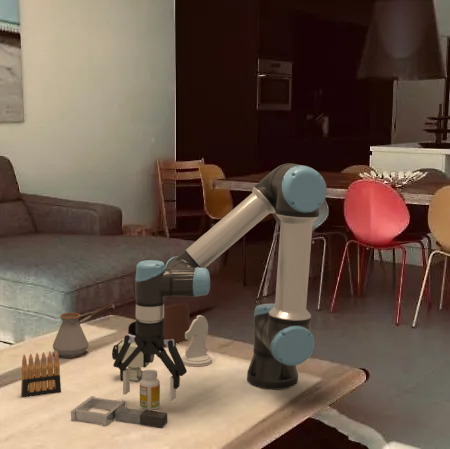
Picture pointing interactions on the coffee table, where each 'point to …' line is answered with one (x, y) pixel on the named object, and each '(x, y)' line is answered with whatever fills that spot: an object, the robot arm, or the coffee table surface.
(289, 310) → the robot arm
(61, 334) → the coffee pot
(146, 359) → the pneumatic valve
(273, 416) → the coffee table surface
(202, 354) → the chess piece
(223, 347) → the coffee table surface
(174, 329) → the letter holder
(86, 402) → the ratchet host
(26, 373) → the ammunition clip
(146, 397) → the supplement bottle
